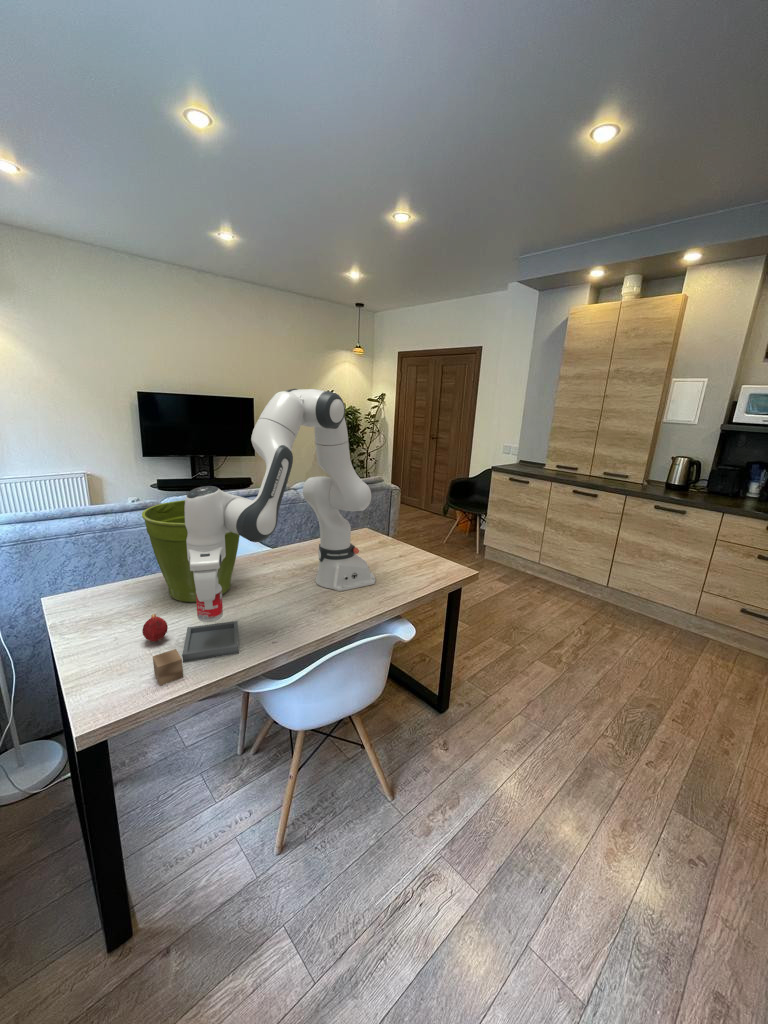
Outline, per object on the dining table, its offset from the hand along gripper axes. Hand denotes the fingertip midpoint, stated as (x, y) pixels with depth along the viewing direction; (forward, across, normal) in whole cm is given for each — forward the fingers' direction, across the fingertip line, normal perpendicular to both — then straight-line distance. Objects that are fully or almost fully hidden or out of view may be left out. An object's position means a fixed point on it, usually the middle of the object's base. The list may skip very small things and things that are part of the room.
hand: (209, 601), depth 103 cm
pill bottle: (+5, 0, 0) cm, 5 cm away
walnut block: (+13, +11, -9) cm, 19 cm away
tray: (+13, 0, 0) cm, 13 cm away
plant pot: (+13, -34, -5) cm, 37 cm away
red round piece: (+13, -5, -14) cm, 20 cm away
